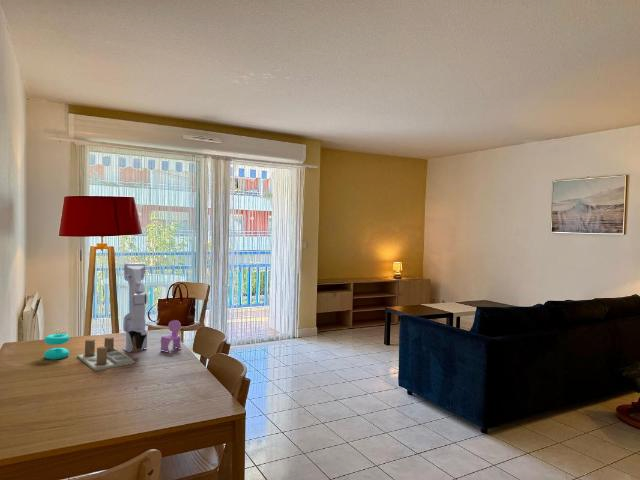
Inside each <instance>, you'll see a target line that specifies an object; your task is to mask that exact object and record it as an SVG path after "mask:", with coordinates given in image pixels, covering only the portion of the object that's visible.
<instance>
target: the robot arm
mask: <svg viewBox="0 0 640 480" xmlns="http://www.w3.org/2000/svg"><path fill="white" fill-rule="evenodd" d="M123 265H124V266H123V267H124V268H123V278H124V280H125V281H127V282H128V283H127V284H128V286H129V289H128V291H129V292H128V293H129V313H126V314H125V315H124V316H123V323H122V325H123V326H122V328H123V329H122V330H123V332H125V347H122V350H124V351H125V352H127V353H132V352H131V351H132V348H133V336H134V337H135V340H136V348H137V349H139V348H142V351H144V350H143V349H144V348H147V347H148V334H147V330H146V319H145V318H146V317H145V315H146V305H147V302H148V297H147V296H148V295H147V292H146V291H145V285H144V284H143V282H142V281H143V280H144V278H145V275H146V270H147V269H146V263H145V262H125V263H124V264H123ZM147 349H148V348H147Z"/></svg>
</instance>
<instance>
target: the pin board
mask: <svg viewBox="0 0 640 480" xmlns="http://www.w3.org/2000/svg"><path fill="white" fill-rule="evenodd" d="M114 343H115V338H114V337H112V336H109V337H104V343H103V344H104V346H99V347H97V348H96V347H95V346H96V345H95V344H96V339H94V338H92V339H91V338H90V339H86V340H85V341H84V354H83V353H82V354H77V356H76V357H77V359H79V360H80V361H81V362H82V363H83V364H84V363H85V365H87V367H89V368H91V369H92V370H93V371H101V370H106V369H112V368H116V367H117V368H118V367H122V366H123V365H124V366H128V364H129V365H133V363H135V364H136V361H135V360H134V359H133V358H132V357H130V356H128V355H126V354H125V353H124V352H122V351H120V350H119V349H117V348H115V346H114V345H115V344H114ZM95 348H96V352H95Z"/></svg>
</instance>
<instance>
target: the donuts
mask: <svg viewBox="0 0 640 480" xmlns="http://www.w3.org/2000/svg"><path fill="white" fill-rule="evenodd" d="M69 341H70V335H69V334H68V333H53V334H49V335H47V336H45V337H44V343H45V344H47V345H52V346H55V345H56V346H57V345H63V344H65V343H68V342H69ZM69 355H70V350H68V348H64V347H54V348H49V349H48V350H46V351H45V352H44V353H43V358H44V359H48V360H61V359H64V358H67V357H68V356H69Z"/></svg>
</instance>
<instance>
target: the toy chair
mask: <svg viewBox="0 0 640 480" xmlns="http://www.w3.org/2000/svg"><path fill="white" fill-rule="evenodd" d="M181 328H182V324H181V322H180V321H179V320H177V319H176V320H175V319H173V320H171V321H169V322H168V330H169V331H171V333H170V334H167V335H162V336H161V337H160V351H161V350H164V351H168V352H170V350H169V345H170V342H171V341H172V348H173V347H177V348H182V347H181V335H178V333H179V332H178V331H179V330H181Z"/></svg>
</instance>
